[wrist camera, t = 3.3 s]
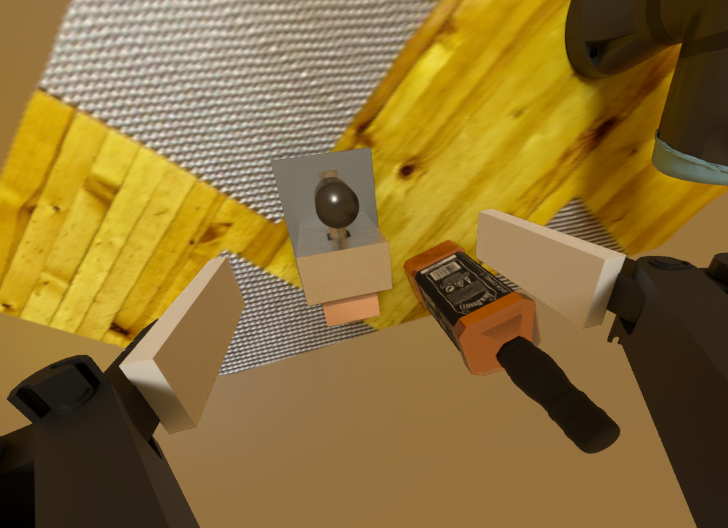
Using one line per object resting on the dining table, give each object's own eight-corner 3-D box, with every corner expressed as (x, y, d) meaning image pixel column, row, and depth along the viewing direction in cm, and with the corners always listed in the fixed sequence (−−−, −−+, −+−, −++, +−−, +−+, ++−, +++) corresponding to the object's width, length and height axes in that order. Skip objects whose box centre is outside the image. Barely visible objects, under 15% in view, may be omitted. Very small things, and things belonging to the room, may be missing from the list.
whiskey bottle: (418, 302, 52) (552, 493, 23) (401, 262, 47) (541, 440, 19) (464, 278, 52) (656, 443, 23) (452, 237, 47) (671, 377, 19)
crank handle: (309, 173, 29) (310, 182, 22) (344, 168, 30) (355, 175, 23) (338, 318, 38) (345, 357, 31) (364, 312, 39) (377, 350, 32)
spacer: (321, 281, 39) (323, 307, 32) (366, 272, 39) (377, 296, 33) (324, 298, 40) (327, 326, 34) (368, 289, 41) (379, 315, 34)
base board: (272, 160, 37) (270, 161, 35) (368, 147, 38) (370, 147, 37) (307, 301, 47) (307, 306, 46) (382, 286, 49) (384, 290, 47)
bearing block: (299, 222, 39) (296, 258, 27) (364, 211, 41) (388, 241, 28) (308, 258, 42) (308, 305, 30) (368, 247, 43) (392, 288, 31)
